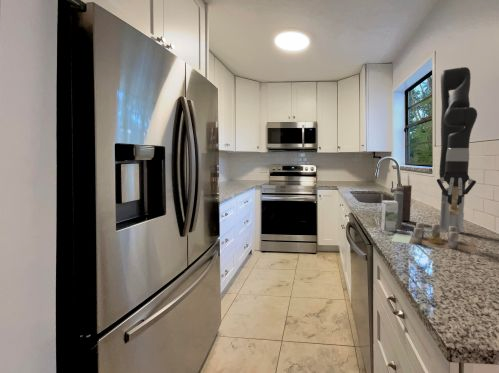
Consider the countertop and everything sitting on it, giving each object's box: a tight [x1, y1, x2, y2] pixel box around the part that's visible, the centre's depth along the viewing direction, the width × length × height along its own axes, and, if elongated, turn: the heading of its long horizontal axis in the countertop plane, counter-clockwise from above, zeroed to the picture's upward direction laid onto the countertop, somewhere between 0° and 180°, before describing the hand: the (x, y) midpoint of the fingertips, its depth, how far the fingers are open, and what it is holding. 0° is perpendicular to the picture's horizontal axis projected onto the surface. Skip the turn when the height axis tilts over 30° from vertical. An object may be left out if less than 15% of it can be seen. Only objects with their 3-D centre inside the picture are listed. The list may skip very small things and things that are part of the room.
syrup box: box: [380, 199, 398, 232], centre depth 156 cm, size 6×6×14 cm
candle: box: [397, 184, 412, 222], centre depth 180 cm, size 8×7×20 cm
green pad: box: [390, 233, 412, 245], centre depth 138 cm, size 6×16×1 cm, turn 149°
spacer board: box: [408, 222, 478, 253], centre depth 130 cm, size 22×16×7 cm
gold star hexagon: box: [428, 235, 443, 244], centre depth 131 cm, size 5×4×2 cm
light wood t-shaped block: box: [449, 186, 459, 215], centre depth 127 cm, size 3×7×10 cm, turn 150°
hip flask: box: [393, 186, 404, 230], centre depth 167 cm, size 16×4×20 cm, turn 159°
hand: (454, 204), depth 127 cm, fingers closed on light wood t-shaped block, 2 cm apart
